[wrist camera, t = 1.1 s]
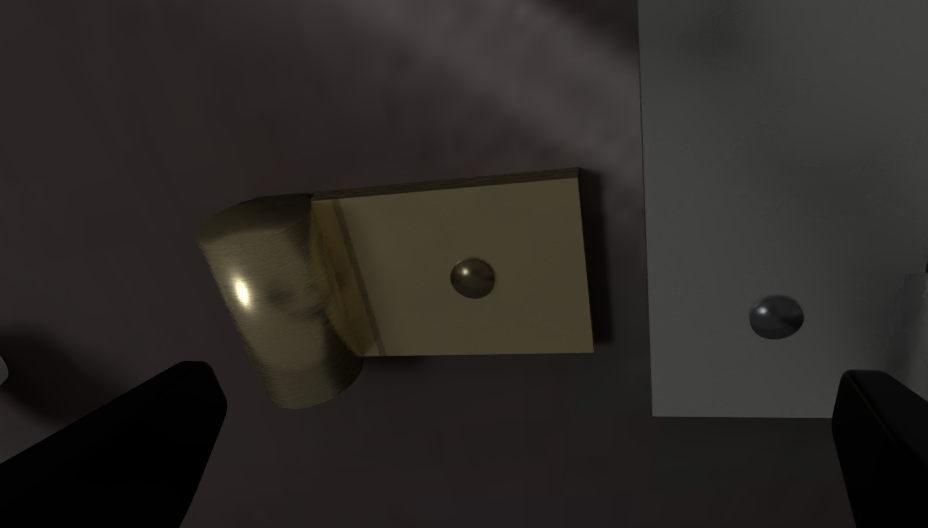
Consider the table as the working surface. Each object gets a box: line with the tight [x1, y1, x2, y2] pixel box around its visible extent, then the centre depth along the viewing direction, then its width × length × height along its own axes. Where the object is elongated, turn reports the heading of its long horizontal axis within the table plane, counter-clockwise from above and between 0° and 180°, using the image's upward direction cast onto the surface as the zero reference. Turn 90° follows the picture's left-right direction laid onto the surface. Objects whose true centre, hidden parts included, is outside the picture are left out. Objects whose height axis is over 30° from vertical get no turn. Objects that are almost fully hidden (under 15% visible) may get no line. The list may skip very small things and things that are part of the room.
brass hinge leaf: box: [196, 167, 594, 409], centre depth 22 cm, size 7×13×4 cm, turn 100°
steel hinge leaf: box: [637, 0, 928, 418], centre depth 16 cm, size 21×13×4 cm, turn 10°
